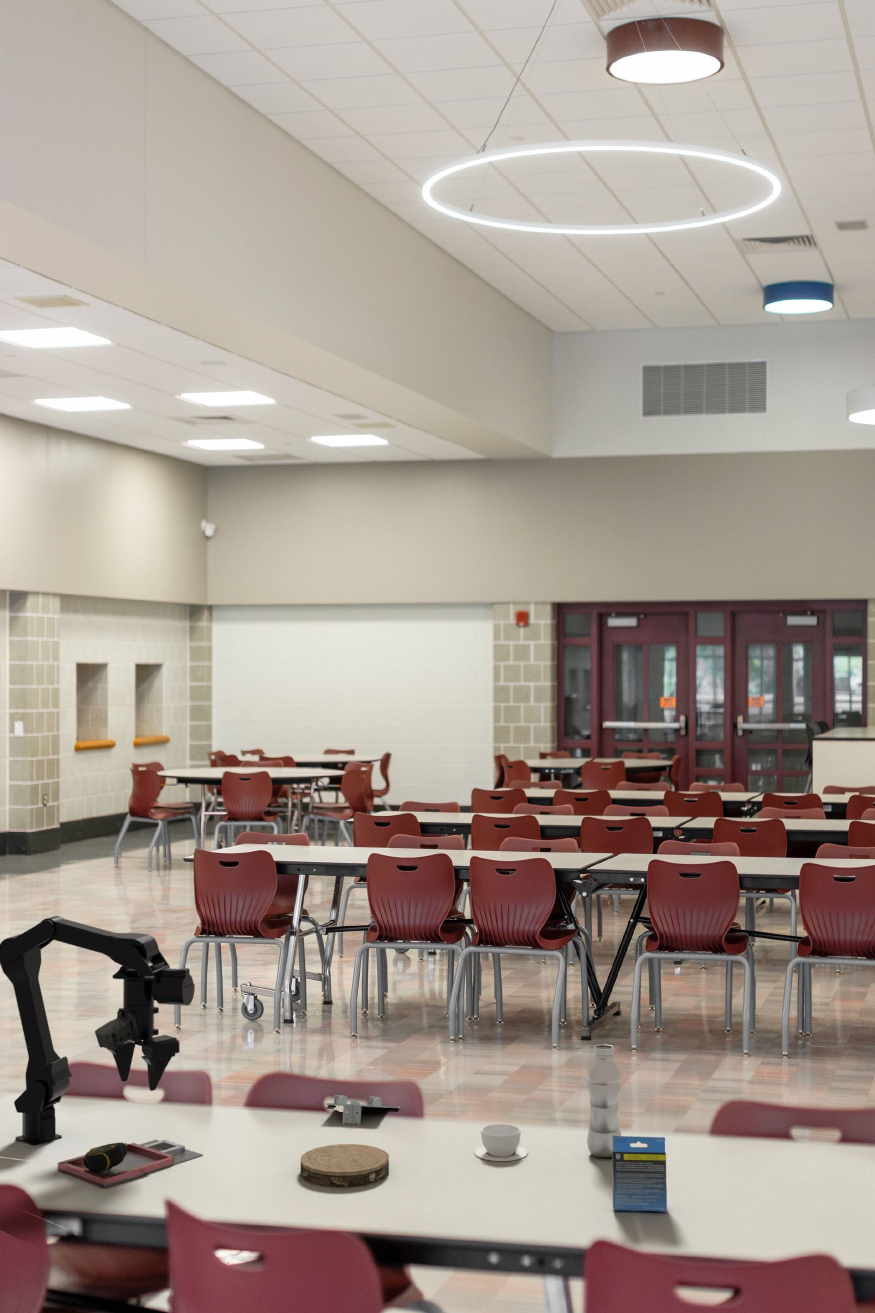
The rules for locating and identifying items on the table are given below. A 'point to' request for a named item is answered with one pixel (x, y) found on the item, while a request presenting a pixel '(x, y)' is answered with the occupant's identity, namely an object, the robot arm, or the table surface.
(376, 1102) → the metal bracket
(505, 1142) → the teacup
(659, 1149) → the label tape cartridge
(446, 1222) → the table surface
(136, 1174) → the fitting plate
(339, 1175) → the wood slice
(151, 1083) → the robot arm
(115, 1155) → the tape measure
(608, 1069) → the plastic bottle
